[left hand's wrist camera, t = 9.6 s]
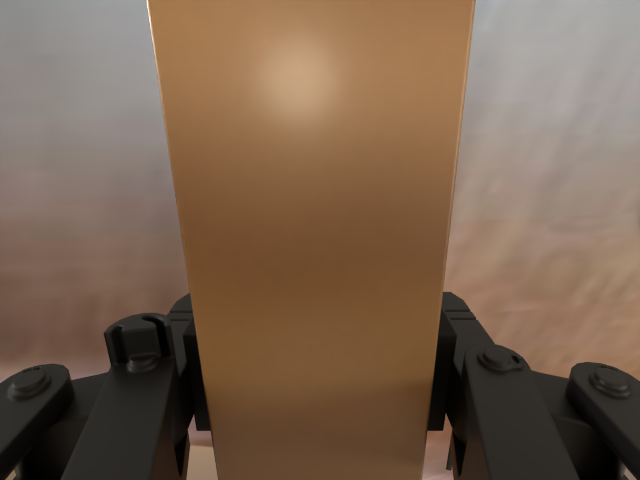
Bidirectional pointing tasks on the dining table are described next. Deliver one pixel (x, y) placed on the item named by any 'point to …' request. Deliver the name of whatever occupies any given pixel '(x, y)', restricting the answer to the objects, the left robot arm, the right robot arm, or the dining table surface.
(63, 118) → the dining table surface
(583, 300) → the dining table surface
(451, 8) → the beam
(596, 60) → the dining table surface
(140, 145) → the dining table surface
